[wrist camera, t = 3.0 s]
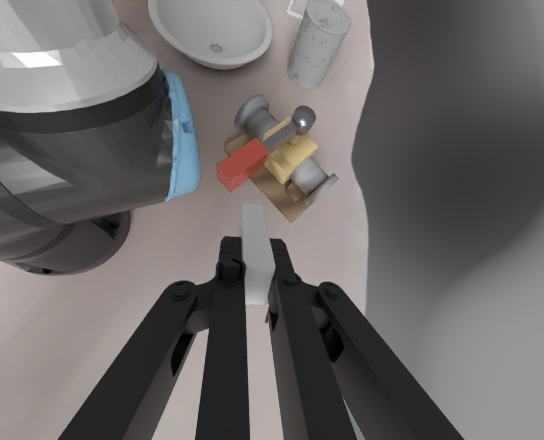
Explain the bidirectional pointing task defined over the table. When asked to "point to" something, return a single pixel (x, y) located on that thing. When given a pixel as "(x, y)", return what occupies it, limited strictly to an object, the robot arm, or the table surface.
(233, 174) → the lever
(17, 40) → the robot arm
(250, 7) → the sink basin
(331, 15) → the speckled concrete cylinder
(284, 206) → the valve stand
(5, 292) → the table surface
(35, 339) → the table surface
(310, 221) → the table surface
